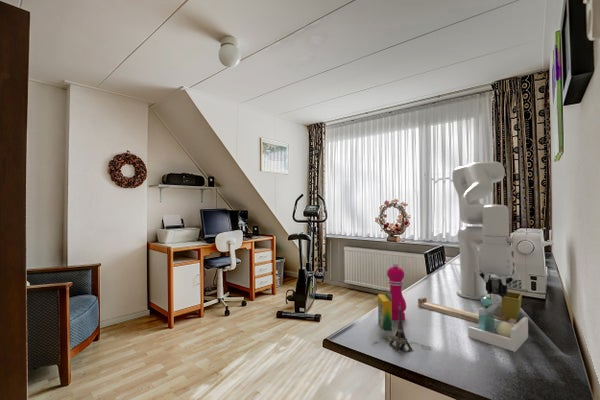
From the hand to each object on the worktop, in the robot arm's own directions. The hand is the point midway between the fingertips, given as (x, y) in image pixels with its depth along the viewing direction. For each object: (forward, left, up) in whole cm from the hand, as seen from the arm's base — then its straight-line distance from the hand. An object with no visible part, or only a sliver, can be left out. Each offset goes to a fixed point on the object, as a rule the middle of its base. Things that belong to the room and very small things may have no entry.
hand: (496, 294), depth 97 cm
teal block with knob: (+6, 0, -10) cm, 12 cm away
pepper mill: (+20, -26, -11) cm, 35 cm away
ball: (+10, +5, -8) cm, 14 cm away
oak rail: (0, -11, -11) cm, 15 cm away
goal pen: (+10, +3, -11) cm, 15 cm away
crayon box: (+30, -24, -11) cm, 40 cm away
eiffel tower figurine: (+38, -13, -12) cm, 42 cm away
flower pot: (-10, 0, -11) cm, 15 cm away
